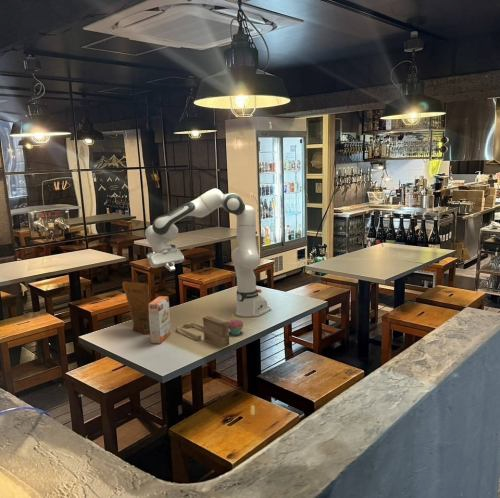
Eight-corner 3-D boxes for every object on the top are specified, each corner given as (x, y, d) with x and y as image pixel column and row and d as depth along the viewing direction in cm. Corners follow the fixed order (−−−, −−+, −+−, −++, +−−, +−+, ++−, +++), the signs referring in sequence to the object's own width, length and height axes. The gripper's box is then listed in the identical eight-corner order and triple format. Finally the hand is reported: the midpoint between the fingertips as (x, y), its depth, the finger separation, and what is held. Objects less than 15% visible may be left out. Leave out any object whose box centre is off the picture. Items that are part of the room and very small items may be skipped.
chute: (194, 325, 253) (194, 321, 253) (216, 334, 239) (216, 329, 238) (176, 331, 245) (175, 327, 245) (198, 341, 231) (197, 336, 230)
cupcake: (237, 337, 234) (236, 315, 232) (224, 334, 238) (223, 312, 236) (246, 331, 241) (245, 310, 239) (233, 329, 246) (232, 307, 243)
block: (211, 336, 236) (210, 314, 234) (229, 344, 226) (228, 321, 224) (204, 339, 233) (202, 317, 230) (221, 347, 222) (220, 323, 220)
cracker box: (161, 344, 229) (158, 304, 225) (150, 343, 230) (147, 303, 226) (171, 333, 242) (169, 296, 238) (161, 333, 243) (158, 295, 239)
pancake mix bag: (147, 337, 238) (143, 285, 233) (125, 329, 250) (120, 280, 245) (157, 333, 244) (153, 282, 238) (135, 326, 255) (131, 277, 250)
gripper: (147, 250, 246) (158, 270, 240) (178, 244, 259) (189, 263, 254) (143, 257, 250) (154, 277, 245) (175, 251, 263) (185, 270, 258)
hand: (172, 270), depth 249 cm, fingers closed
